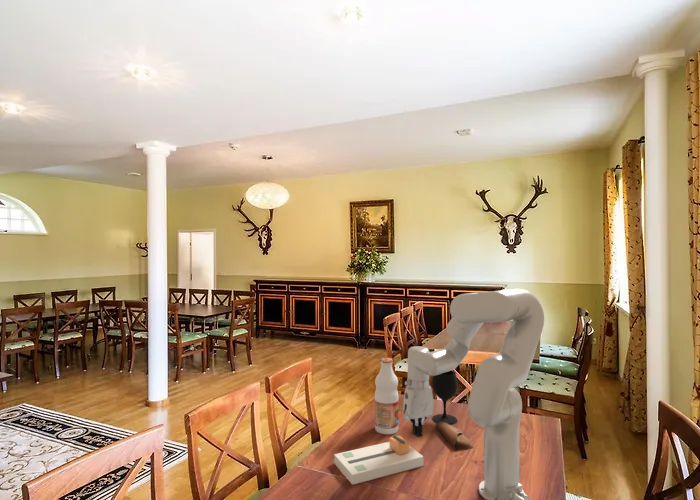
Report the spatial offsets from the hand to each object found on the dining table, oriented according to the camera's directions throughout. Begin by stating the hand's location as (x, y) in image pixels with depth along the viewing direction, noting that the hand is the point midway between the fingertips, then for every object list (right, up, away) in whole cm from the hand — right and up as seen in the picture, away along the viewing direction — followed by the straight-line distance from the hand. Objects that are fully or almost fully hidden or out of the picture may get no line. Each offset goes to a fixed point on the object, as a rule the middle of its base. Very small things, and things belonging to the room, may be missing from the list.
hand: (417, 435), depth 144 cm
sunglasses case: (+16, -7, +12) cm, 21 cm away
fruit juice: (-9, -7, +19) cm, 22 cm away
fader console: (-14, -6, -7) cm, 17 cm away
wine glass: (+16, -7, +29) cm, 34 cm away
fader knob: (-7, -3, -4) cm, 9 cm away
